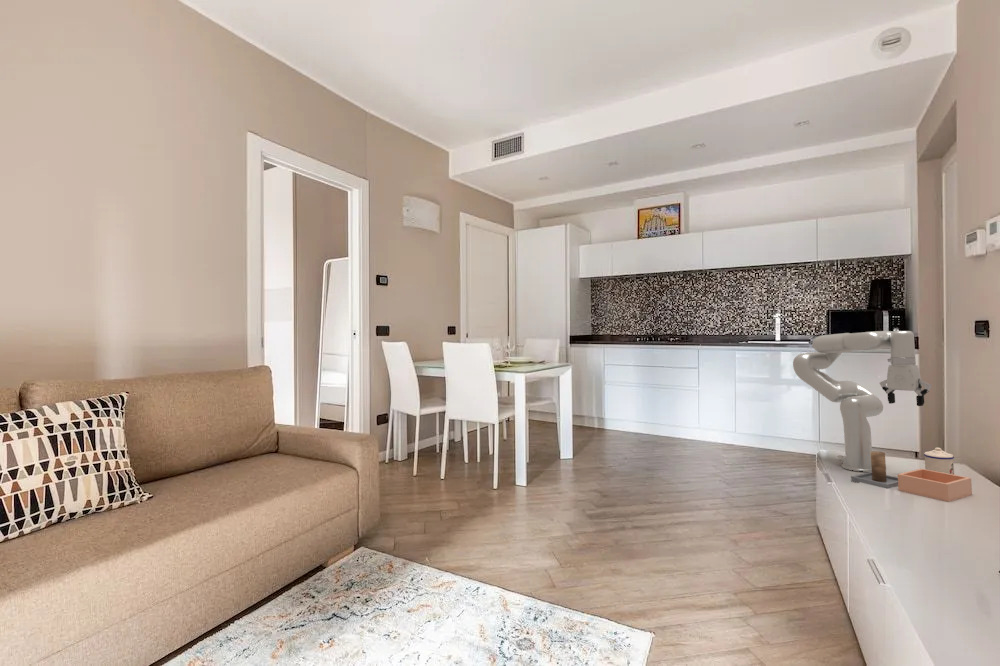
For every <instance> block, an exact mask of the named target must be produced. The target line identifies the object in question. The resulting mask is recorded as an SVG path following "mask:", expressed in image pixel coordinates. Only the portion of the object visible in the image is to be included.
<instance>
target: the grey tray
mask: <svg viewBox="0 0 1000 666" xmlns="http://www.w3.org/2000/svg"><path fill="white" fill-rule="evenodd" d="M886 479H887V482H877V481H873V480H872V472H864V473H859V474H855V475H851V476H850V481H851V482H852V481H853V483H856V482H857V484H860V483H863V484H867V485H871V486H875V487H879V488H884V489H891V488H895V487H898V476H893V475H890V474H889V475H888V474H886Z"/></svg>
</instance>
